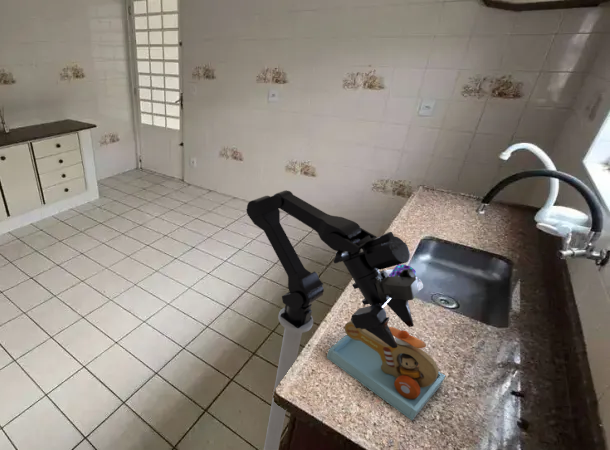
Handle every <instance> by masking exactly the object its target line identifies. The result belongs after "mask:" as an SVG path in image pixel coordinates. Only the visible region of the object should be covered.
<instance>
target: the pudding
mask: <svg viewBox="0 0 610 450" xmlns="http://www.w3.org/2000/svg"><path fill="white" fill-rule="evenodd" d="M404 269H411V270H412V271H413V273H414V274H415V275H416V276H417V272H416V269H415V268H414V267H412V266H411V265H406V264H405V263H403V264H399V265H396V266H394V268H393V269H392V268H391V269H389V268H388V269H385V270H384V271H385V272H387V274H388V275H389V276H390V277H394V276H396V275H398V276H400V273H401V272H402V271H403V270H404ZM417 279H419V280H420V282H419V283H418V284H417V285H418V290H419V291H421V290H422V289H423V288H424V284H423V281H422V280H421V279H420V278H419V277H417Z"/></svg>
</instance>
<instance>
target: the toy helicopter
mask: <svg viewBox="0 0 610 450" xmlns="http://www.w3.org/2000/svg"><path fill="white" fill-rule="evenodd" d="M388 327H389V329H390V331H391V333H392V335H393V337H394V339H395V341H396V344H397V348H392V347H390V346H389V345H388V344H386V343H385V342H383V341H382V340H381V339H379V338H378V337H377V336H375V335H374V334H372V333H370V332H369V331H367V330H365V329H360V328H355V327H354V325H353V323H352V321H351V320H349V321H347V322H346V323H345V324H344V332H345V334H346V335H348V336H349V337H350V338H351V339H353V340H357V341H361V342H363V343H364V344H366V345H367V346H369V347H370V348H372V349H373V350H375V351H376V352H377V353H378V354H379V355H380V358H381V360H382V365H381V370H382V371H383V372H384V373H386V374H391V375H393V376H394V377H395V378H397V379H396V380H395V382H394V386H395V388H396V390H397V391H398V393H399V394H400V395H402V396H403V397H405V398H407V399H416V398H417V397H418V396H419V395H420V391H421V390H420V388H423V387H427V386H430V385H431V384H432V383H433V382H434V381H435V380H436V378H437V376H438V373H439V372H440V370H439V367H438V364H437V362H436V361H435V359H433V357H432V356H431V355H429V354H428V353H427V352H426V351H425V350H423V348H426V347H427V343H426V342H425V341H423V340H421V339H419V338H417V337H415V336H413V335H410V333H409V331H407V330H404V329H401V330H400V329H398V328H396V327H394V326H388ZM401 354H402V355H401ZM400 355H401V356H400Z"/></svg>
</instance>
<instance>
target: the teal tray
mask: <svg viewBox="0 0 610 450" xmlns="http://www.w3.org/2000/svg"><path fill="white" fill-rule="evenodd" d="M401 355H402V354H401ZM401 355H400V356H401ZM326 359H327V360H329V361H330V362H331V363H333V364H334V365H336V366H337V367H338V368H339V369H341V370H343V371H344V373H346V374H348V375H349V376H351V377H352V378H353V379H355V380H356V381H358V382H359V383H360V384H362V385H363V386H364V387H365V388H367V389H368V390H370V391H371V392H372V393H374V394H375V395H377V396H378V397H379V398H380V399H382V400H383V401H384V402H385V403H388V404H389V405H390V406H391V407H392V408H394V409H396V410H397V411H398V412H400V413H401V414H402V415H404V416H405V417H407V419H409V420H410V421H413V420H414V419H415V418H416V417H417V416H418V414H419V413H420V412H421V410H422V409H423V408H424V407H425V405H426V404H428V402H429V401H430V399H431V398H432V397H433V396H434V394H435V393H436V392H437V390H438V389H439V388H440V387H441V386H442V384H443V382H444V380H445V378H446V375H445V374H444V373H442V372H440V371H439V373H438V376H437V378H436V380H435V381H434V382H433V383H432V384H431V385H430V386H427V387H423V388H420V390H421V391H420V395H419V396H418V397H417V398H416V399H407V398H405V397H403V396H402V395H400V394H399V393H398V391H397V390H396V388H395V386H394V382H395V380H396V379H397V378H395V377H394V376H393V375H391V374H386V373H384V372H383V371H382V370H381V365H382V360H381V358H380V355H379V354H378V353H377V352H376V351H375V350H373V349H372V348H370V347H369V346H367V345H366V344H364V343H363V342H361V341H357V340H353V339H351V338H350V337H349V336H348V335H347V334H346V335H344V337H342V338H341V339H340V340H338V341H337V342H336V343H335V344H333V345H332V346H331V347H330V348H328V351H327V354H326Z"/></svg>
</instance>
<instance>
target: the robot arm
mask: <svg viewBox="0 0 610 450" xmlns="http://www.w3.org/2000/svg"><path fill="white" fill-rule="evenodd" d="M245 210H246V211H245V212H246V214H247V216H248V218H249V219H250V221H251V222H252V223H253V224H254V225H255V226H256V227H258V228H259V229H260V230H262V231H263V232H264V234H265V236H266V238H267V240H268V241H269V244H270V246H271V247H272V249H273V251H274V253H275V255H276V257H277V258H278V260H279V262H280V264H281V266H282V268H283V269H284V272H285V273H286V275H287V289H288V292H286V293H285V294H283V295H282V296H281V299H282V303H283V304H284V308H285V310H284V312H283V313H282V314H281V315H280V316H281V317H282V318H283V319H285V320H286V321H288V322H289V323H290V324H292V325H293V326H295V327H296V328H300V327H301V326H303V325H305V324H307V323H308V322H310V320H311V319H312V318H313V316H312V313H313V310H312V306H313V305H312V304H313V303H314V302H316V301H318V300H319V299H320V298H322V297H323V295H324V292H325V289H324V286H323V285H324V283H323V282H322V281H321V279H320V277H319V275H318V273H317V272H316V271H312V272H311V271H309V269H306V267H305V266H304V264H303V263H302V261H301V259H300V257H299V255H298V253H297V252H296V250H295V248H294V246H293V244H292V242H291V240H290V239H289V236H288V234H287V233H286V231H285V230H284V228H283V225H282V224H281V222H280V220H281V211H282V212H285V213H286V214H288V215H289V216H291V217H293V218H294V219H296V220H297V221H299V222H301V223H302V224H304V225H305V226H307V227H309V228H310V229H312V230H313V231H315V232H316V233H317V234H318V237H319V239H320V240H321V242H323V243H324V244H325V245H327V246H328V247H329V248H330V249H331V250H332V251H335V256H334V259H333V263H334V264H339V263H341V262H342V263H343V265H344V266H345V268H346V270H347V271H348V273H349V274H350V277H351V278H352V280H353V281H354V282H353V283H352V284H351V286H352V287H353V289H354V290H356V289H358V290H359V291H360V293H361V295H362V296H363V299H362V300H361V302H362V304H363V306H364V307H360V308H358V309H357V310H356V311H354V313H353V314H352V315H351V317H350V321H352V323H353V325H354V327H355V328H360V329H365V330H367V331H369V332H370V333H372V334H374V335H375V336H377V337H378V338H379V339H381V340H382V341H383V342H385V343H386V344H388V345H389V346H390V347H392V348H397V344H396V341H395V336H393V335H392V333H391V331H390V329H389V327H390V326H389V325H388V324H389V321H390V316H387V312H386V309H385V308H384V307H386V306H388V307H389V309H390V310H391V311H393V313H394V314H395V315H396V317H398V318H399V319H400V320H401V321H402V322H403V323H404V324H405V325H406V326H407V327H408V328H413V327H414V325H415V324H414V321H413V317H412V312H411V308H410V304H409V301H413V300H414V299H415V297H416V296H417V294H419V293H420V290H418V285H417V284H418V283H419V282H420V280H421V279H420V278H419V279H420V280H419V279H417V278H418V276H417V274H416V275H415V274H414V273H413V271H412V270H411V269H404V270H403V271H402V272H401V273H400V276H398V275H396V276H394V277H390V276H389V275H388V274H387V272H385V271H386V269H389V268H391V267H396V266H397V265H402V264H407V263H408V262H409V261H410V258H411V253H410V249H409V246H408V245H407V243H406V242H405V241H404V240H402V239H401V238H400V237H398V236H395V235H394V233H393V232H392V231H387V232H386V233H384V234H382V235H380V236H377V235H375V234H372V233H371V232H369V231H367V230H366V229H364V228H362V227H361V226H360V225H359V223H357V222H356V221H353V220H351V219H348V218H345V217H342V216H337V215H331V214H328V213H326V212H325V211H323V210H321V209H320V208H317V207H316V206H314V205H312V204H311V203H309V202H308V201H305V200H303V199H302V198H300V197H298V196H296V195H295V194H293V192H292V191H290V190H282V191H279V192H277V193H275V194H273V195H271V196H270V195H264V196H261V197H259V198H256V199H253V200H250V201H249V202H248V203H247V206H246V209H245ZM280 210H281V211H280ZM384 269H385V270H384ZM367 305H369V306H367ZM311 316H312V317H311ZM297 326H298V327H297Z"/></svg>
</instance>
